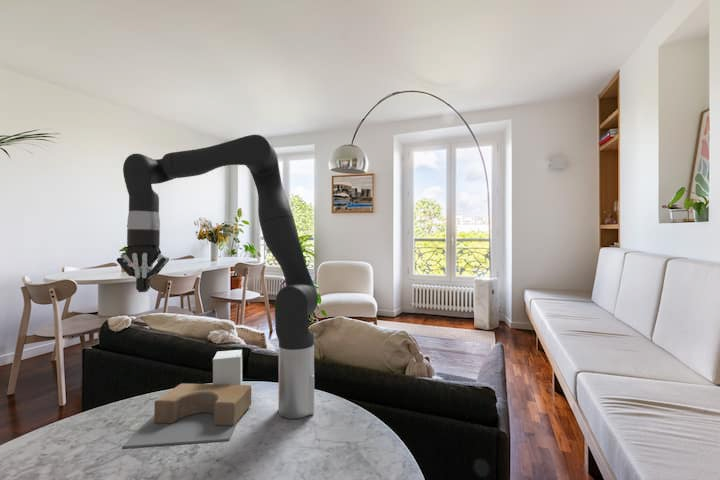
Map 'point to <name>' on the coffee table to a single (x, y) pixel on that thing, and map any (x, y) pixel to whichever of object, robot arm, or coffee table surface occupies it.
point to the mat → (181, 432)
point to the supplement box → (227, 367)
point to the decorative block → (203, 402)
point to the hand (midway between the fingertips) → (142, 291)
